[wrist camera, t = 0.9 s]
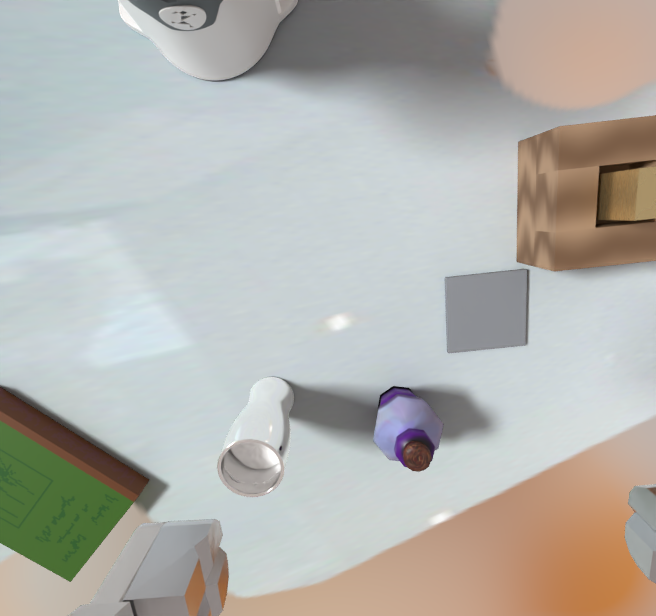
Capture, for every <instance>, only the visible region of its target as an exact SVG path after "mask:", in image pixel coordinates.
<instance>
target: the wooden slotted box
mask: <svg viewBox="0 0 656 616" xmlns="http://www.w3.org/2000/svg"><path fill="white" fill-rule="evenodd" d="M647 167H656V115H655V116H647V117H638V118H629V119H620V120H611V121H603V122H594V123H585V124H576V125H567V126H559V127H557V128H554V129H551V130H549V131H546V132H543V133H541V134H538V135H535V136H533V137H530V138H527V139H525V140H522V141H519V142H518V205H517V262H519V263H523V264H527V265H531V266H535V267H539V268H543V269H547V270H551V271H562V270H571V269H581V268H590V267H600V266H609V265H619V264H628V263H638V262H647V261H656V218H654V219H645V220H636V221H630V220H596V210H597V194H598V179H599V174H604V173H611V172H618V171H625V170H631V169H638V168H647Z"/></svg>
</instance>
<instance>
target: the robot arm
mask: <svg viewBox="0 0 656 616" xmlns="http://www.w3.org/2000/svg"><path fill="white" fill-rule="evenodd" d="M117 1H118V2H119V12H120V15H121V17H122V19H123V20H124V22H125V23H126V24H127V25H128V26H129V27H130V28H131V29H133V30H134V31H136V32H138V33H139V34H141V35H143V36H145V37H147V38H149V39H150V40H151V41H152V42H153V43H154V44H155V46H156V47H157V48H158V49H159V51H160V52H161V53H162V54H163V55H164V56H165V58H166V59H167V60H168V61H169V62H171V63H172V64H173V65H174V66H175V67H177V68H178V69H180V70H181V71H183V72H185V73H187V74H189V75H191V76H193V77H196V78H200V79H205V80H225V79H229V78H233V77H236V76H238V75H240V74H242V73H244V72H246V71H247V70H249V69H250V68H251V67H252V66H254V65H255V64H256V63H257V62H258V61H259V60H260V58H261V57H262V56H263V55H264V53H265V52H266V50H267V48H268V47H269V45H270V43H271V40H272V38H273V36H274V33H275V31H276V29H277V27H278V25H279V23H280V22H281V21H282V20H283V19H284V18H285V17H286V16H287V15H289V14H290V12H291V11H292V10H293V9H294V8H295V6H296V5H297V2H298V0H117ZM628 504H629V505H630V507H631V508H632V509H633V511H634V512H635V513H634V514H633V515H632V516H631V517H630V519H629V520H628V521H627V522H626V527H625V540H626V543H627V546H628V549H629V552H630V554H631V556H632V557H633V559H634V561H635V563H636V564H637V566H638V567H639V568H640V569H641V571H642V572H643V573H644V574H645V575H646V577H647V578H648V579H649V580H651V581H653V582H654V583H656V484H653V485H642V486H634V488H633V489H632V490H631V491H630V493H629V501H628ZM222 536H223V534H222V529H221V525H220V521H218V520H216V519H207V520H188V521H169V522H162V523H143V524H141V525H140V526H139V527H138V528H136V529H135V531H134V532H133V534H132V536H131V537H130V539H129V540H128V542H127V544H126V546H125V547H124V549H123V550H122V552H121V553H120V555H119V557H118V558H117V560H116V562H115V563H114V565H113V567H112V568H111V570H110V571H109V573H108V575H107V576H106V578H105V580H104V581H103V583H102V585H101V586H100V588H99V589H98V591H97V593H96V594H95V596H94V598H93V599H92V601H91V602H90V604H88V605H80V606H79V607H78V608H77V609H75V611H73V612H72V613H70V614H69V615H68V616H219V615H220V613H221V612H222V611H223V608H224V604H225V600H226V596H227V588H228V578H229V572H228V560H227V554H226V553H225V552H224V551H223V550H222V549H221V548H220V547H219V545H220V542H221V539H222Z"/></svg>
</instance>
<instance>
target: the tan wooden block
mask: <svg viewBox="0 0 656 616" xmlns="http://www.w3.org/2000/svg"><path fill="white" fill-rule="evenodd" d="M654 218H656V167H647V168H638V169H631V170H625V171H618V172H611V173H604V174H599V179H598V194H597V210H596V220H630V221H636V220H645V219H654Z"/></svg>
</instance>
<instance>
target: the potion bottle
mask: <svg viewBox="0 0 656 616" xmlns="http://www.w3.org/2000/svg"><path fill="white" fill-rule="evenodd" d="M443 425H444V424H443V423H442V421H441V420H440V419H439V417H438V416H437V415H436V413H435V412H434V411H433V410H432V408H431V407H430V406H429V404H428V403H426V402H425V401H424V400H423V399H421V398H420V397H416V396H415V395H414V394H413V393H412V391H411V390H410V389H409V388H404V387H396V386H393V387H391V388H390V389H388V390H387V391H386V392H384V393H383V394H381V395H380V399H379V405H378V414H377V420H376V425H375V432H374V439H373V441H374V442H375V444H376V445H377V446H378V447H379V448H380V450H381V451H382V452H383V453H384V454H385V456H386V457H387V458H388V459H389V460H395V461H400V462H401V463H402V464H403V465H404V467H408V468H409V469H411V470H412V471H422V470H425V469H426V468H428V467H429V464H430V462H431V461H432V459H433V454H434V451H435V450H436V449H438V447H439V443H440V438H441V434H442V430H443Z"/></svg>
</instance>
